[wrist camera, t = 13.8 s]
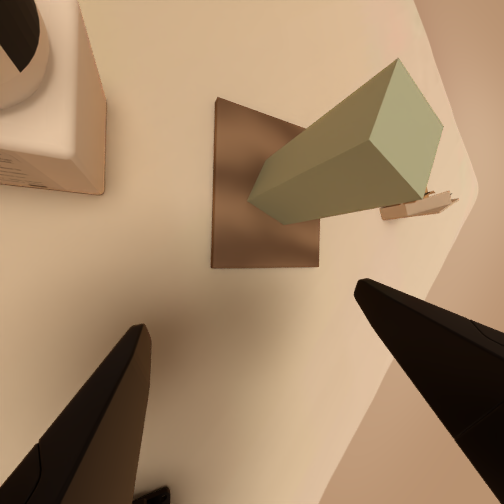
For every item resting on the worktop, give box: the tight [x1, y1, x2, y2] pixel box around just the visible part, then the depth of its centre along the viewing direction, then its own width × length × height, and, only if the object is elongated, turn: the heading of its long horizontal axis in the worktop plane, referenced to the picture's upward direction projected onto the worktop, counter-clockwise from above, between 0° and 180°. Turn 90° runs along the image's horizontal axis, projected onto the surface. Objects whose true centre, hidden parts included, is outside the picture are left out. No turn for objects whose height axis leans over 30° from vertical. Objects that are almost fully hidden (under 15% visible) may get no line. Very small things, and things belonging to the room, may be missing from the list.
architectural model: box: [380, 187, 459, 220], centre depth 30 cm, size 3×7×7 cm, turn 113°
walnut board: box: [211, 97, 320, 268], centre depth 23 cm, size 16×13×1 cm
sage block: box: [247, 58, 444, 225], centre depth 17 cm, size 5×5×13 cm
